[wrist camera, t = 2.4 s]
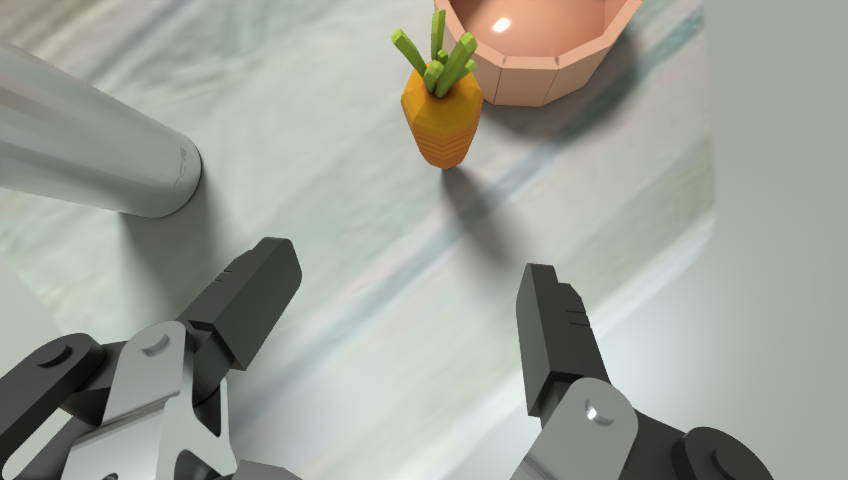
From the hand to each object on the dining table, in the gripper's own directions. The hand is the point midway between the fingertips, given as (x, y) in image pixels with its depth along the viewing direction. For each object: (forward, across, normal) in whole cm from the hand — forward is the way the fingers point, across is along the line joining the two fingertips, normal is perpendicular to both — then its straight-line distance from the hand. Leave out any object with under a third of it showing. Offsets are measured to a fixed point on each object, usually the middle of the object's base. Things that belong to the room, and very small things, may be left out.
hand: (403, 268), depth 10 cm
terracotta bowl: (+29, -6, -6) cm, 30 cm away
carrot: (+19, 0, +5) cm, 20 cm away
